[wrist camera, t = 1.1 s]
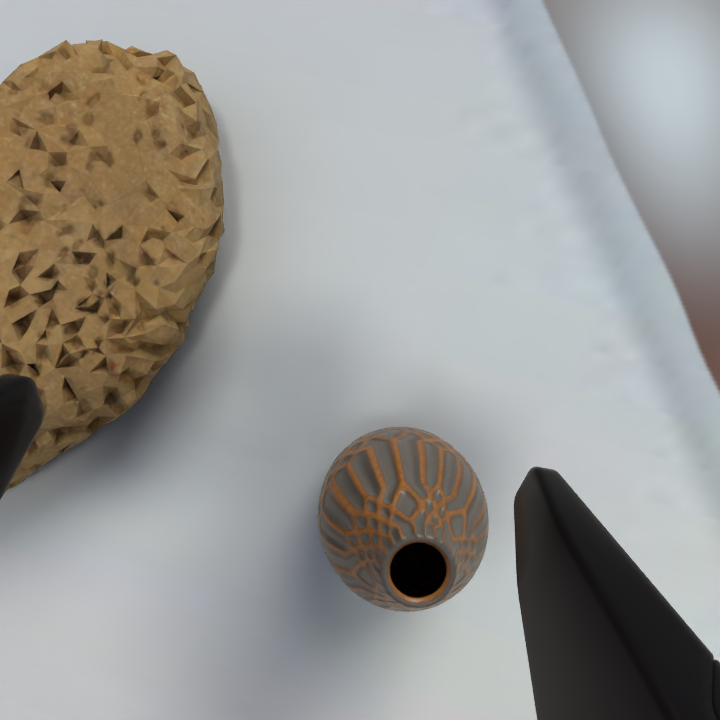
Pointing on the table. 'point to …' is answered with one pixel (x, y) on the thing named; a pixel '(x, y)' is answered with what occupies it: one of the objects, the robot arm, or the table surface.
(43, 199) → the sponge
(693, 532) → the table surface
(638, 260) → the table surface
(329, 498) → the vase
